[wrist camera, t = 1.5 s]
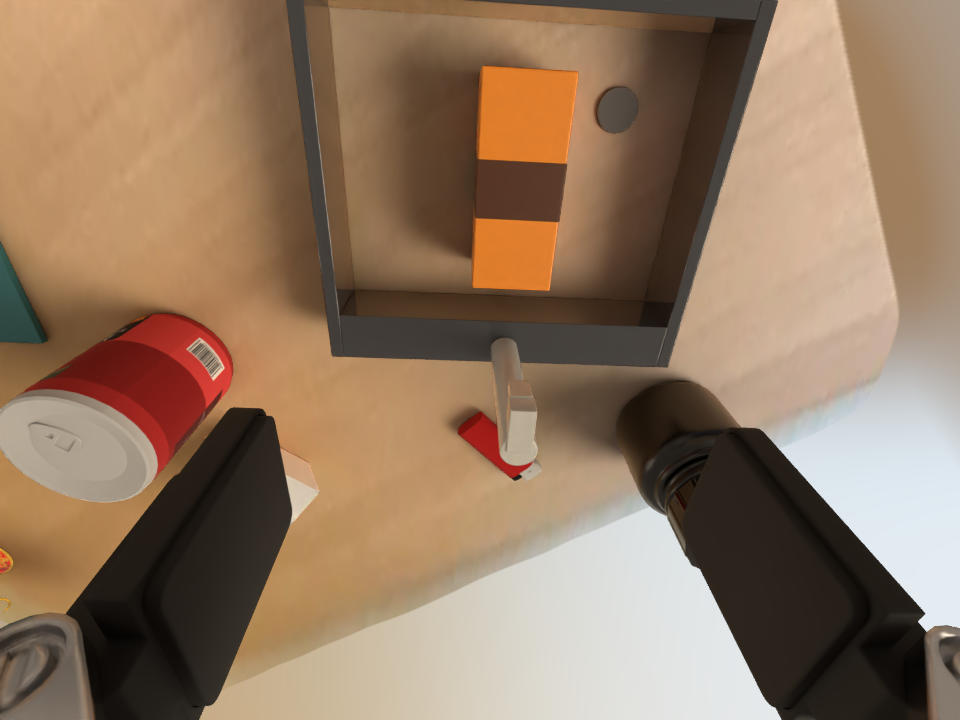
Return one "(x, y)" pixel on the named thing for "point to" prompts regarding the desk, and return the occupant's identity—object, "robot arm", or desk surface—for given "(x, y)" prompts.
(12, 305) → the mat
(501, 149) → the orange striped block
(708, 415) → the ink bottle
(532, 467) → the lighter
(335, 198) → the sink basin
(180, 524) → the robot arm
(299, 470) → the figurine
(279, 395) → the desk surface
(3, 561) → the magic lamp
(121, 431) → the canned food
